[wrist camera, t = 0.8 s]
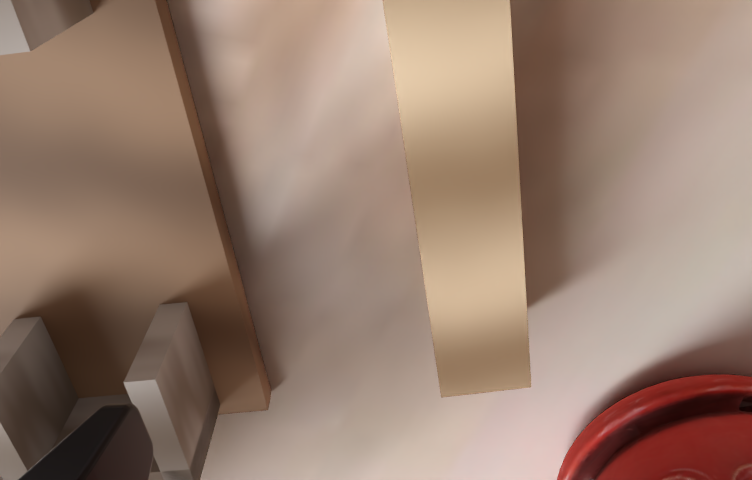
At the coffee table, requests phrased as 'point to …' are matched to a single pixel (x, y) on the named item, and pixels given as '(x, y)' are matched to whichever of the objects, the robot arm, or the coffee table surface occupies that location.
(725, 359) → the coffee table surface
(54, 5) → the end cap base
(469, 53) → the birch slat
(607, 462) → the plant pot
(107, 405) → the robot arm
